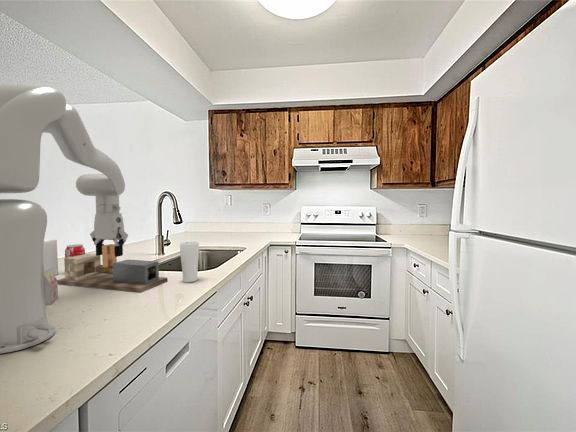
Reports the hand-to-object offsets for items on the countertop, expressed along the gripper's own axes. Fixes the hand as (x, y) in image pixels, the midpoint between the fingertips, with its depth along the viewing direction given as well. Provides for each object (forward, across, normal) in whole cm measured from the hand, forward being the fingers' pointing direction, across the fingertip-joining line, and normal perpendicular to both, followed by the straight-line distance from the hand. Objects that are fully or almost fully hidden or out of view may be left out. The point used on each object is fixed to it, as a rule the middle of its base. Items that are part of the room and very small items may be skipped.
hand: (109, 255), depth 110 cm
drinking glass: (+11, -28, -10) cm, 32 cm away
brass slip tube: (+7, -6, 0) cm, 9 cm away
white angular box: (+11, +1, +22) cm, 25 cm away
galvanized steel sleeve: (+9, -12, 0) cm, 15 cm away
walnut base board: (+10, -1, 0) cm, 11 cm away
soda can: (+11, +27, -8) cm, 30 cm away
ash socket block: (+9, +13, 0) cm, 16 cm away
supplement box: (+11, +36, 0) cm, 38 cm away
